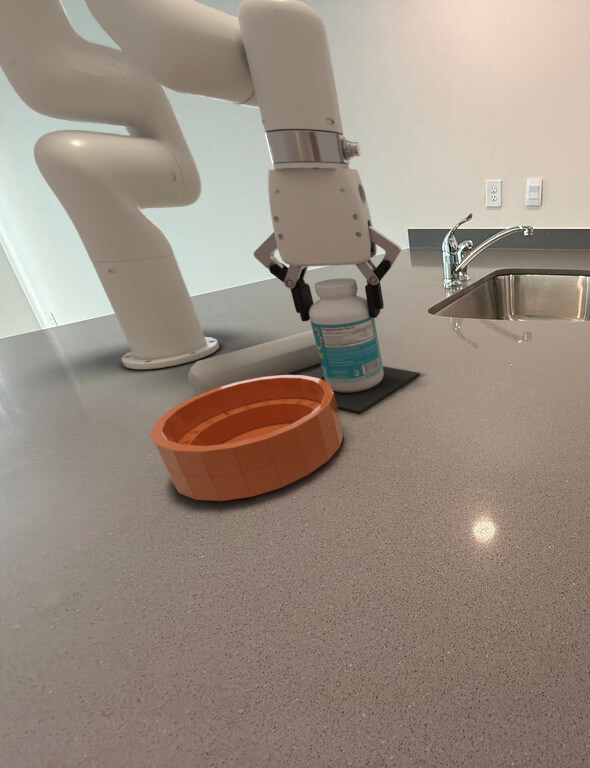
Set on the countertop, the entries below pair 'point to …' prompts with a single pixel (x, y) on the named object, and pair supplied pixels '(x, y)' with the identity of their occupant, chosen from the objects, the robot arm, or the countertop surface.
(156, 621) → the countertop surface
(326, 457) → the bowl
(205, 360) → the tube
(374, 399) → the coaster
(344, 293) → the pill bottle
